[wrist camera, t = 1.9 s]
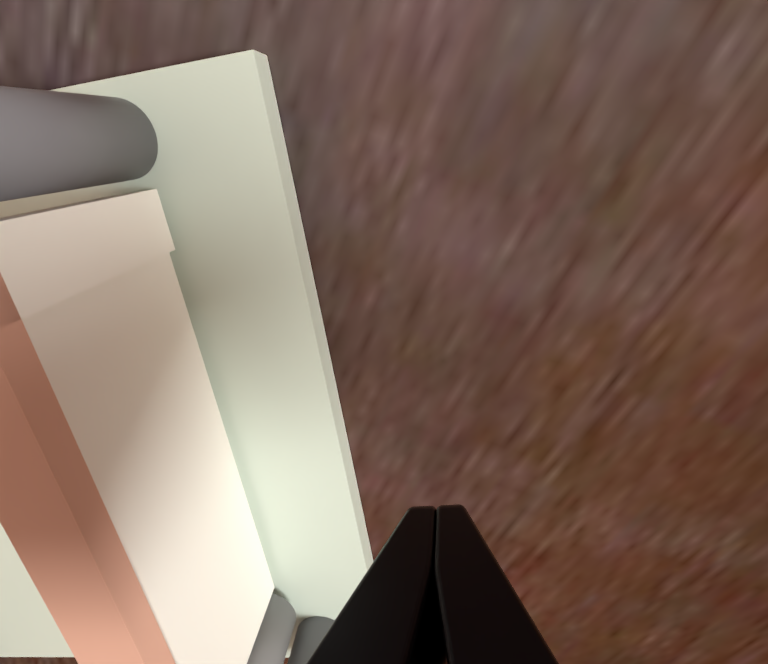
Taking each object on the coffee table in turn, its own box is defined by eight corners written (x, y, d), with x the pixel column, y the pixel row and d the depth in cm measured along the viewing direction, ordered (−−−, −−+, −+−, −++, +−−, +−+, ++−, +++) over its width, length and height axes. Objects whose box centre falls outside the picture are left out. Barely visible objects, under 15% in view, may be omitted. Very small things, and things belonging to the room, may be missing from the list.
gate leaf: (301, 633, 19) (243, 846, 13) (246, 634, 19) (166, 842, 13) (167, 186, 13) (-45, 231, 7) (90, 199, 13) (-168, 250, 7)
